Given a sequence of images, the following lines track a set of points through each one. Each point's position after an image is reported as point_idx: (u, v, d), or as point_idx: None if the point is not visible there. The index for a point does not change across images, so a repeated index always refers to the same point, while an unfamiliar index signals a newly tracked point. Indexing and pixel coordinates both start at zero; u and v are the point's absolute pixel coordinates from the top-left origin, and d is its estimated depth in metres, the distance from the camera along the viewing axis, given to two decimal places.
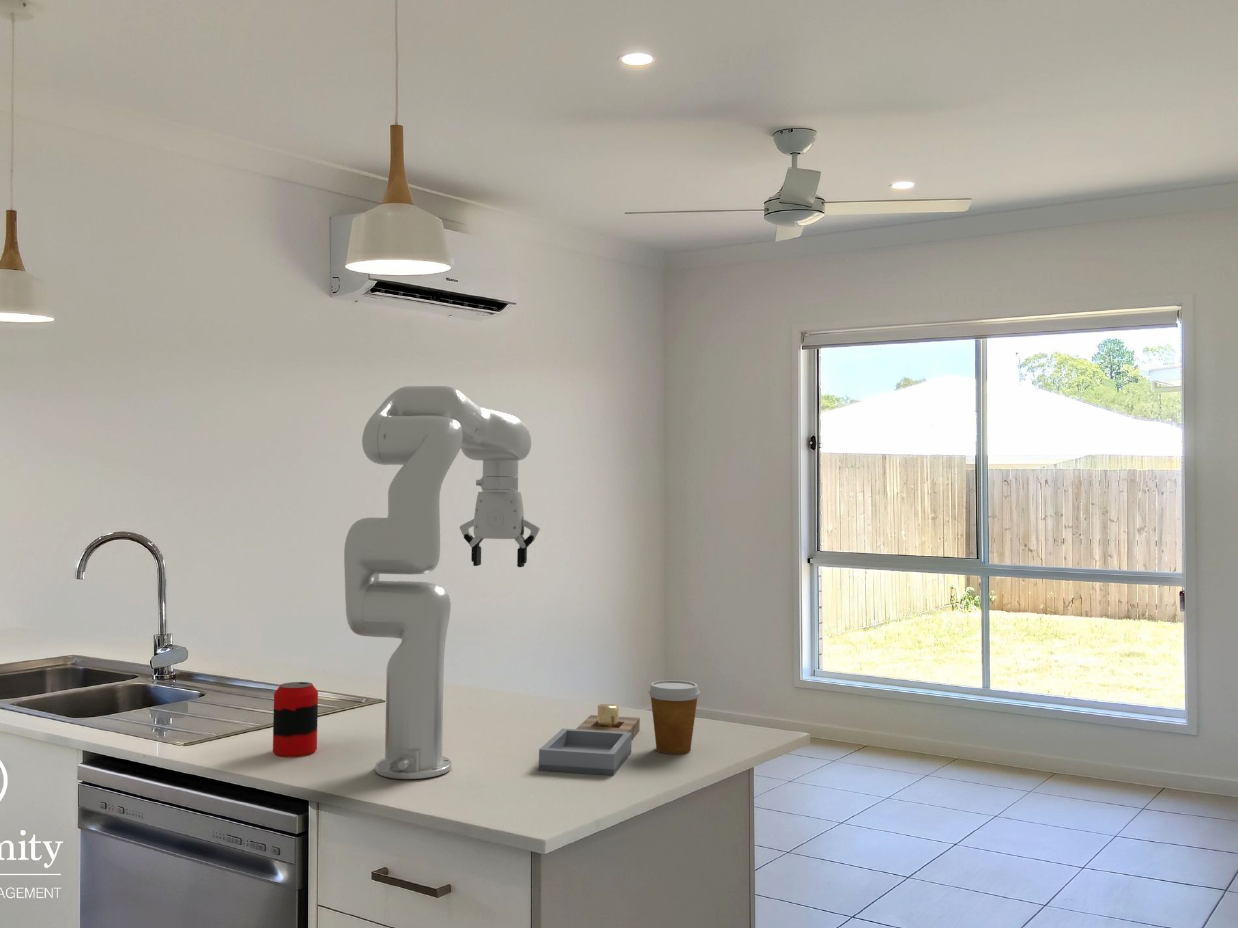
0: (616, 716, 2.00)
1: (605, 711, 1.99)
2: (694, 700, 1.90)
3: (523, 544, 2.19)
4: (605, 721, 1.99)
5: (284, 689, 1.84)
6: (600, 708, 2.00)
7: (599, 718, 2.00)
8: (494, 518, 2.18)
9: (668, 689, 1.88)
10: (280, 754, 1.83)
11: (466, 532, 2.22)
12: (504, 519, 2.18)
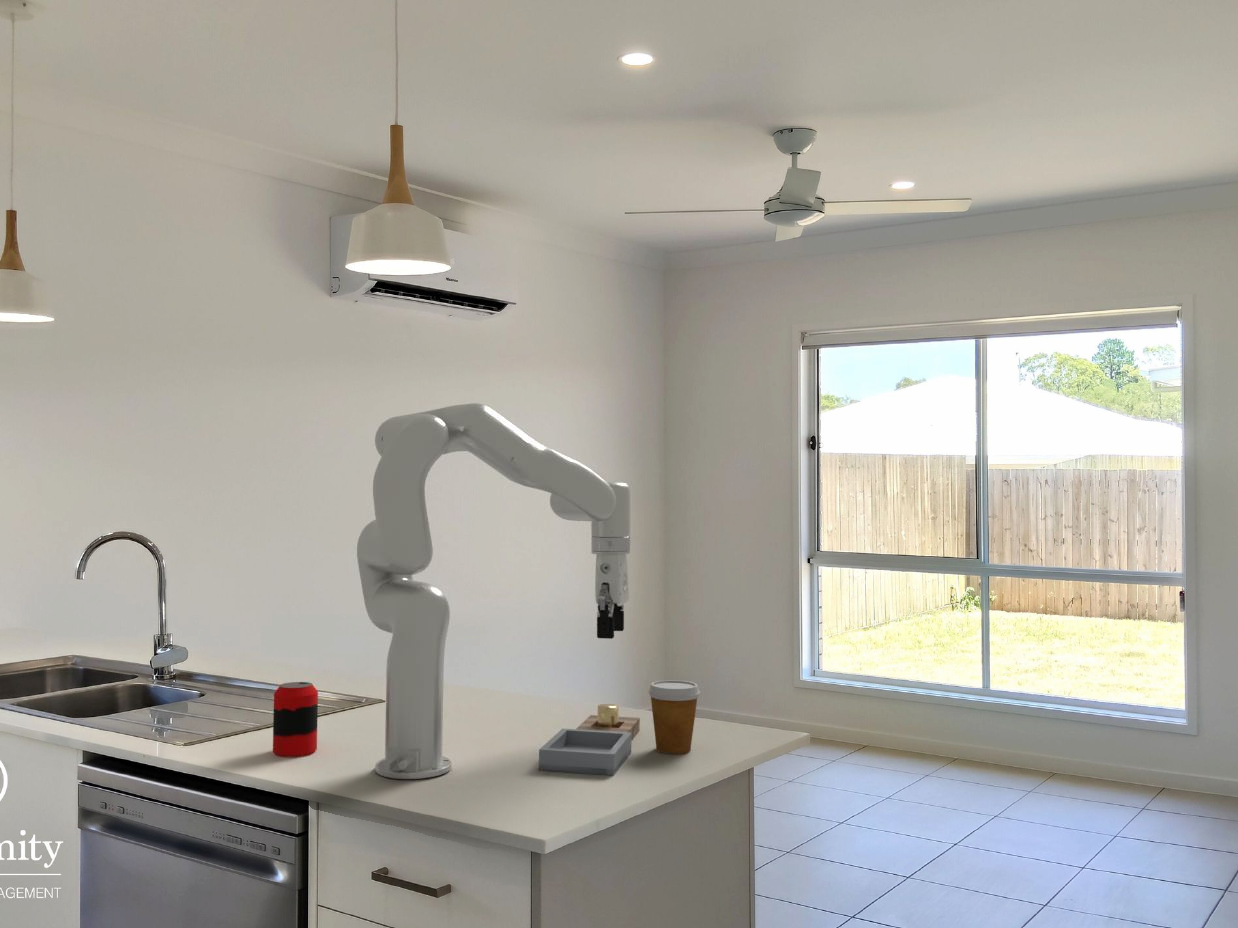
0: (616, 716, 2.00)
1: (605, 711, 1.99)
2: (694, 700, 1.90)
3: None
4: (605, 721, 1.99)
5: (284, 689, 1.84)
6: (600, 708, 2.00)
7: (599, 718, 2.00)
8: (625, 582, 2.01)
9: (668, 689, 1.88)
10: (280, 754, 1.83)
11: (605, 602, 1.95)
12: (626, 582, 2.03)
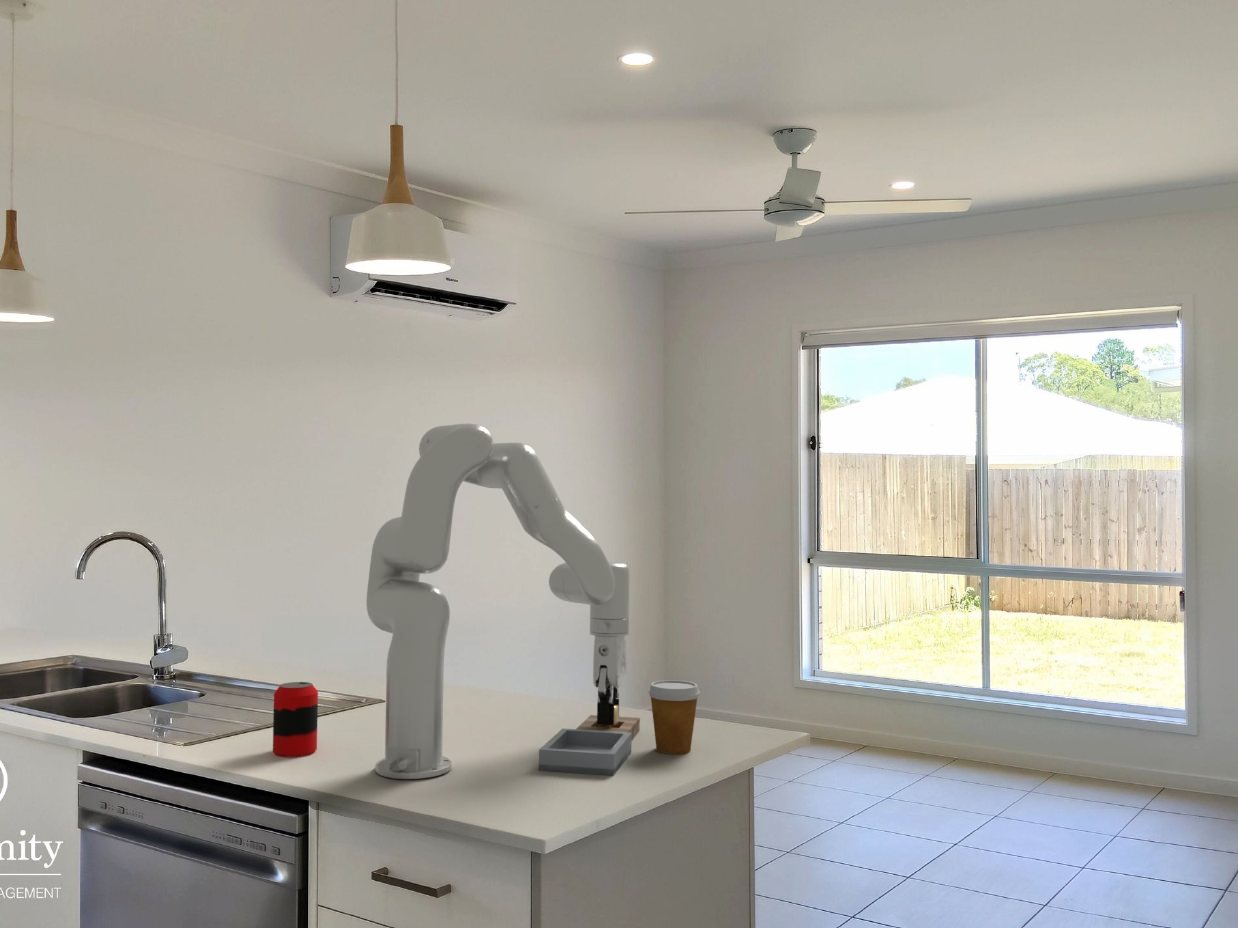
0: (616, 716, 2.00)
1: None
2: (694, 700, 1.90)
3: (617, 694, 2.04)
4: None
5: (284, 689, 1.84)
6: None
7: None
8: (623, 663, 2.01)
9: (668, 689, 1.88)
10: (280, 754, 1.83)
11: None
12: (624, 662, 2.03)
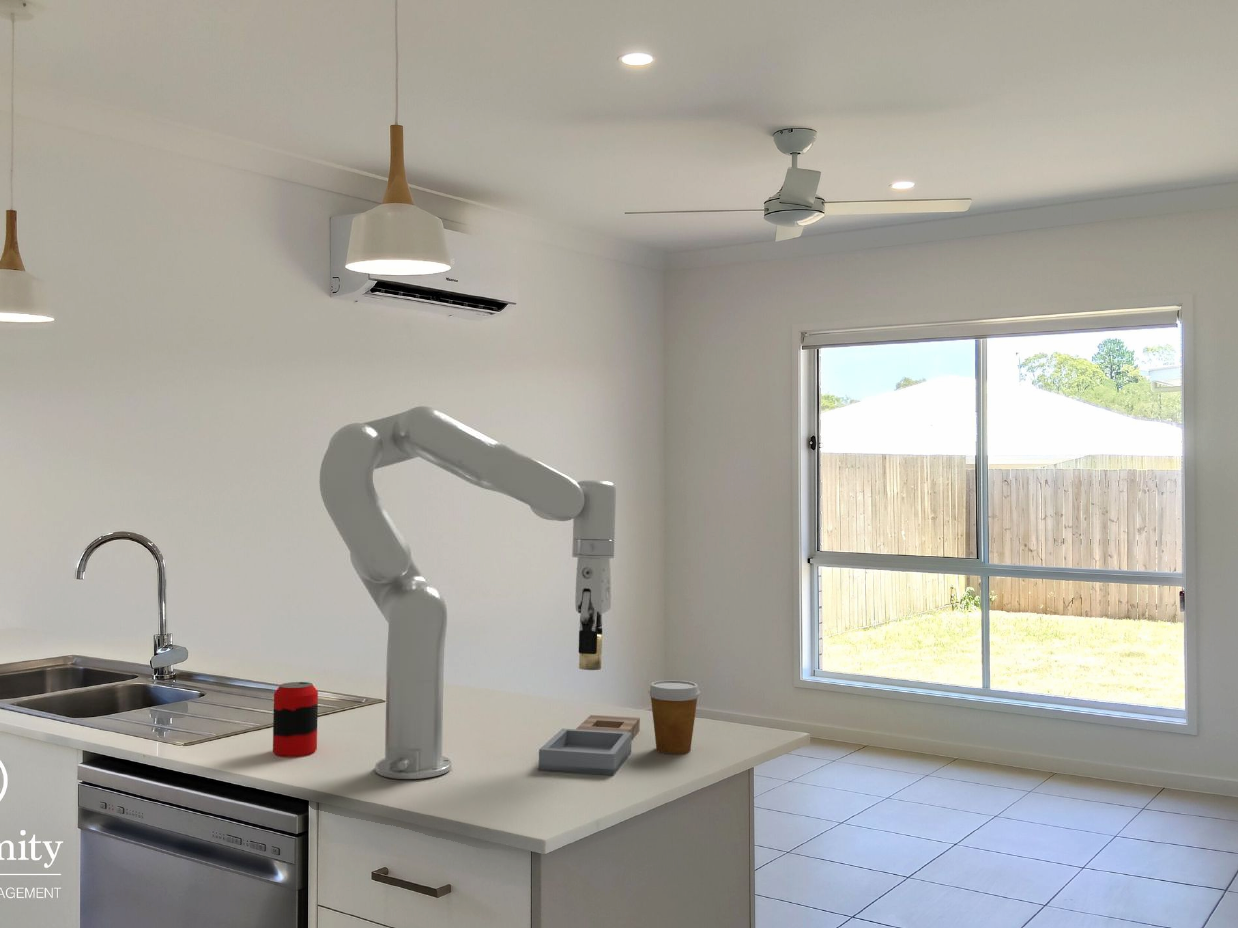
0: (600, 645, 1.86)
1: None
2: (694, 700, 1.90)
3: (600, 623, 1.90)
4: None
5: (284, 689, 1.84)
6: None
7: None
8: (607, 589, 1.86)
9: (668, 689, 1.88)
10: (280, 754, 1.83)
11: None
12: (609, 588, 1.88)
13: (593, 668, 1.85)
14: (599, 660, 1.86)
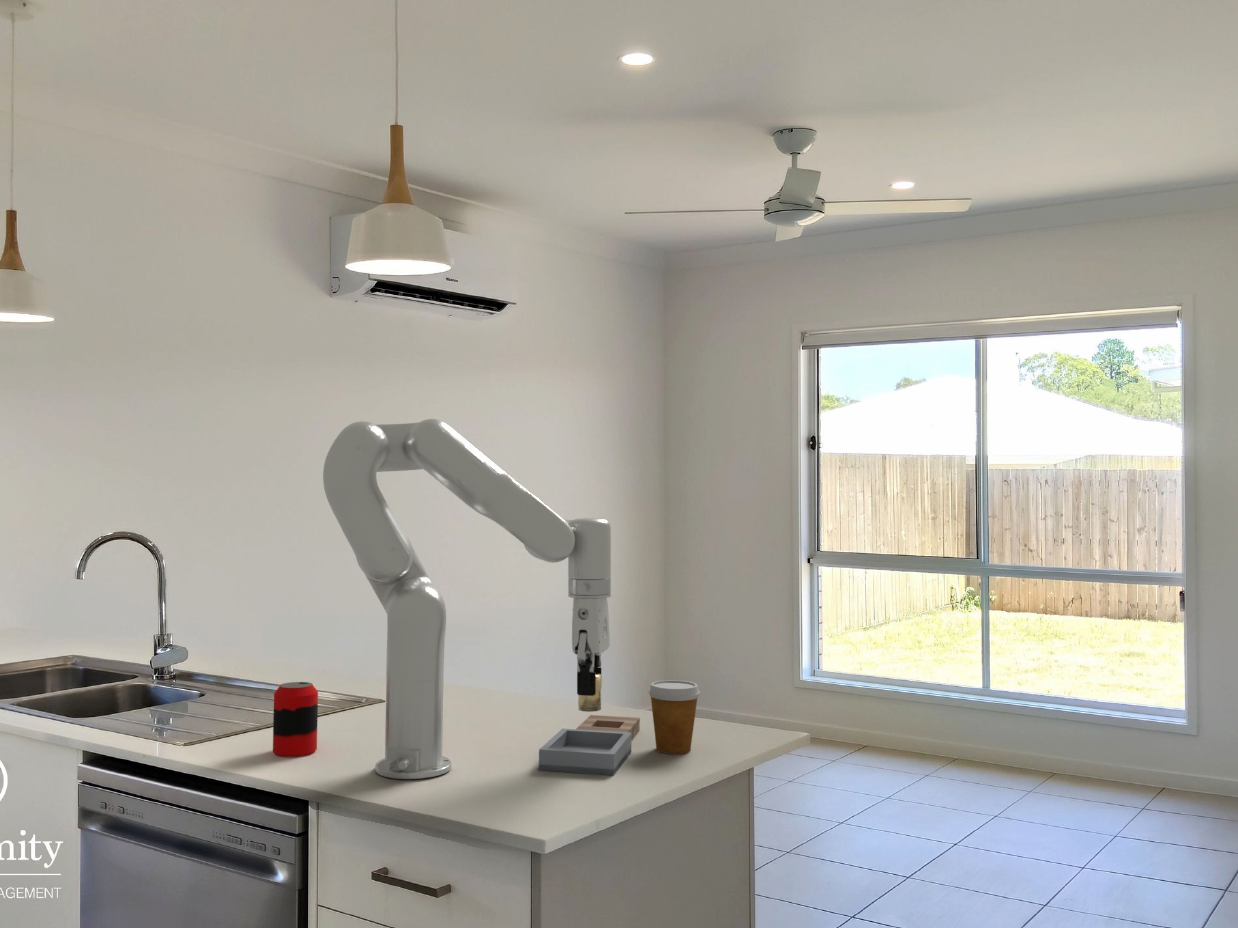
0: (599, 686, 1.83)
1: None
2: (694, 700, 1.90)
3: (600, 662, 1.87)
4: None
5: (284, 689, 1.84)
6: None
7: None
8: (605, 628, 1.83)
9: (668, 689, 1.88)
10: (280, 754, 1.83)
11: (586, 658, 1.79)
12: (607, 627, 1.85)
13: (592, 709, 1.82)
14: (598, 701, 1.83)
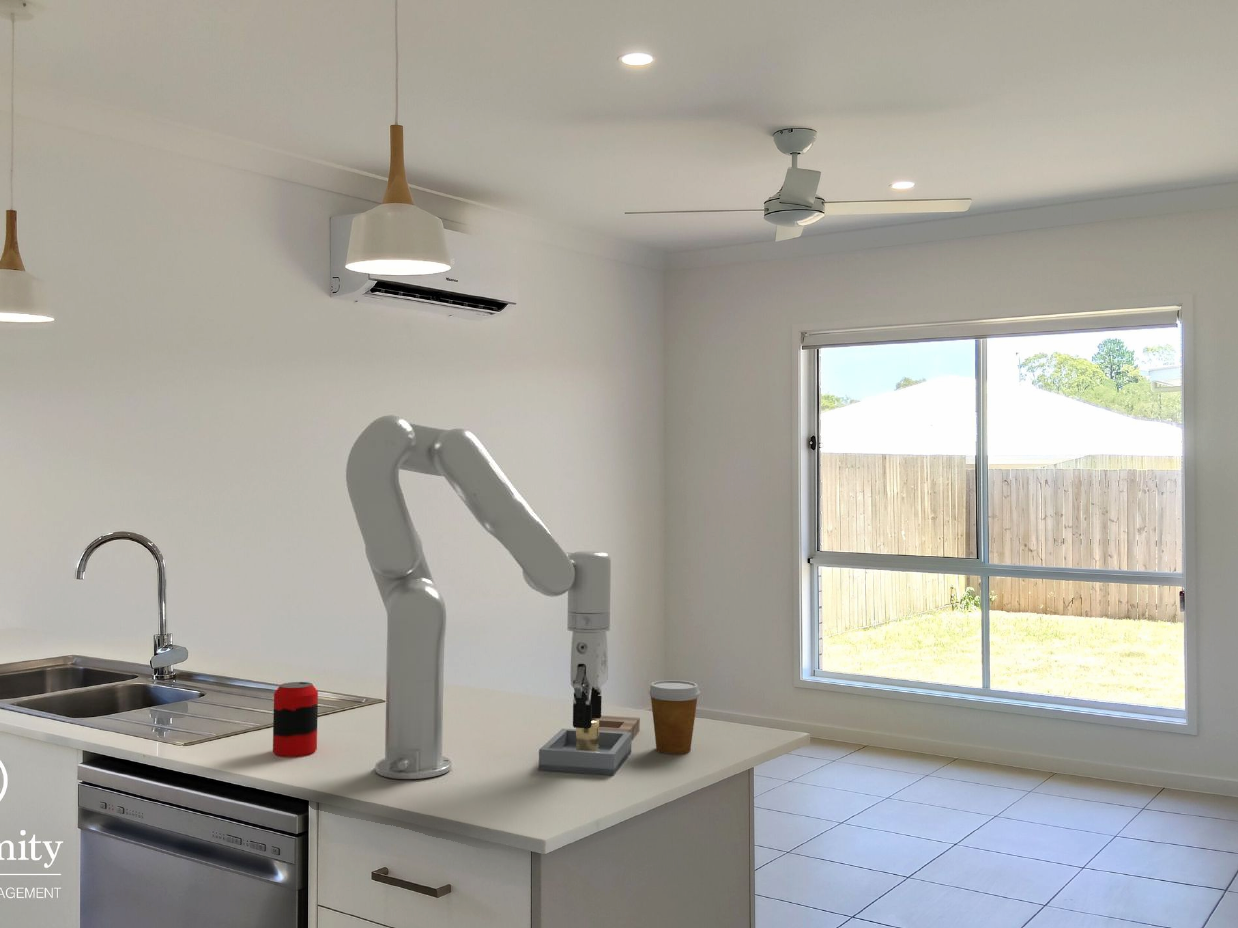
0: (597, 732, 1.83)
1: None
2: (694, 700, 1.90)
3: (600, 690, 1.88)
4: (585, 737, 1.82)
5: (284, 689, 1.84)
6: None
7: (578, 734, 1.83)
8: (603, 662, 1.83)
9: (668, 689, 1.88)
10: (280, 754, 1.83)
11: (582, 689, 1.77)
12: (605, 661, 1.85)
13: None
14: (596, 747, 1.83)
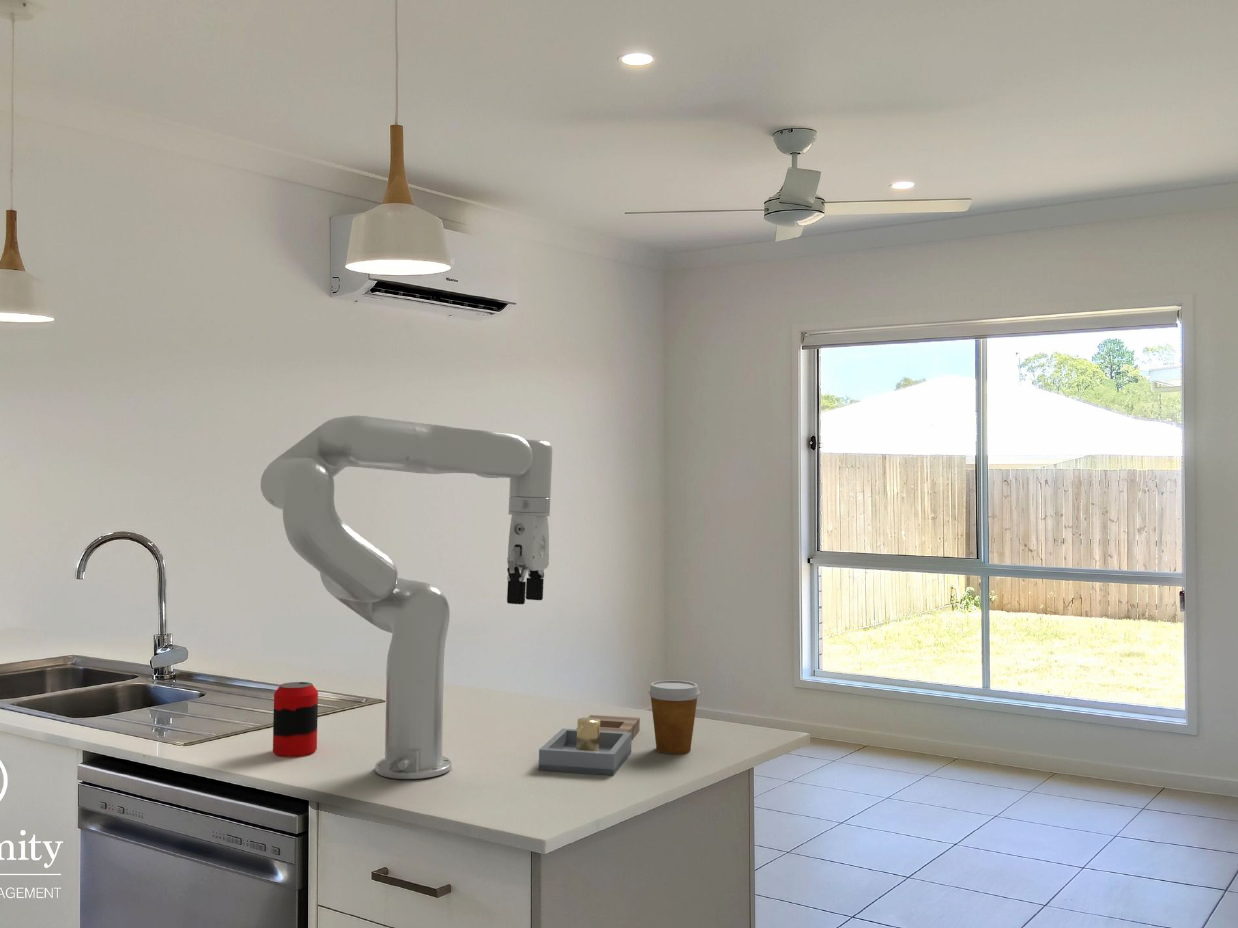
0: (598, 732, 1.83)
1: (586, 725, 1.82)
2: (694, 700, 1.90)
3: (542, 574, 1.95)
4: (586, 737, 1.82)
5: (284, 689, 1.84)
6: (580, 722, 1.82)
7: (579, 733, 1.82)
8: (542, 546, 1.89)
9: (668, 689, 1.88)
10: (280, 754, 1.83)
11: (516, 565, 1.83)
12: (545, 547, 1.91)
13: None
14: (597, 747, 1.83)
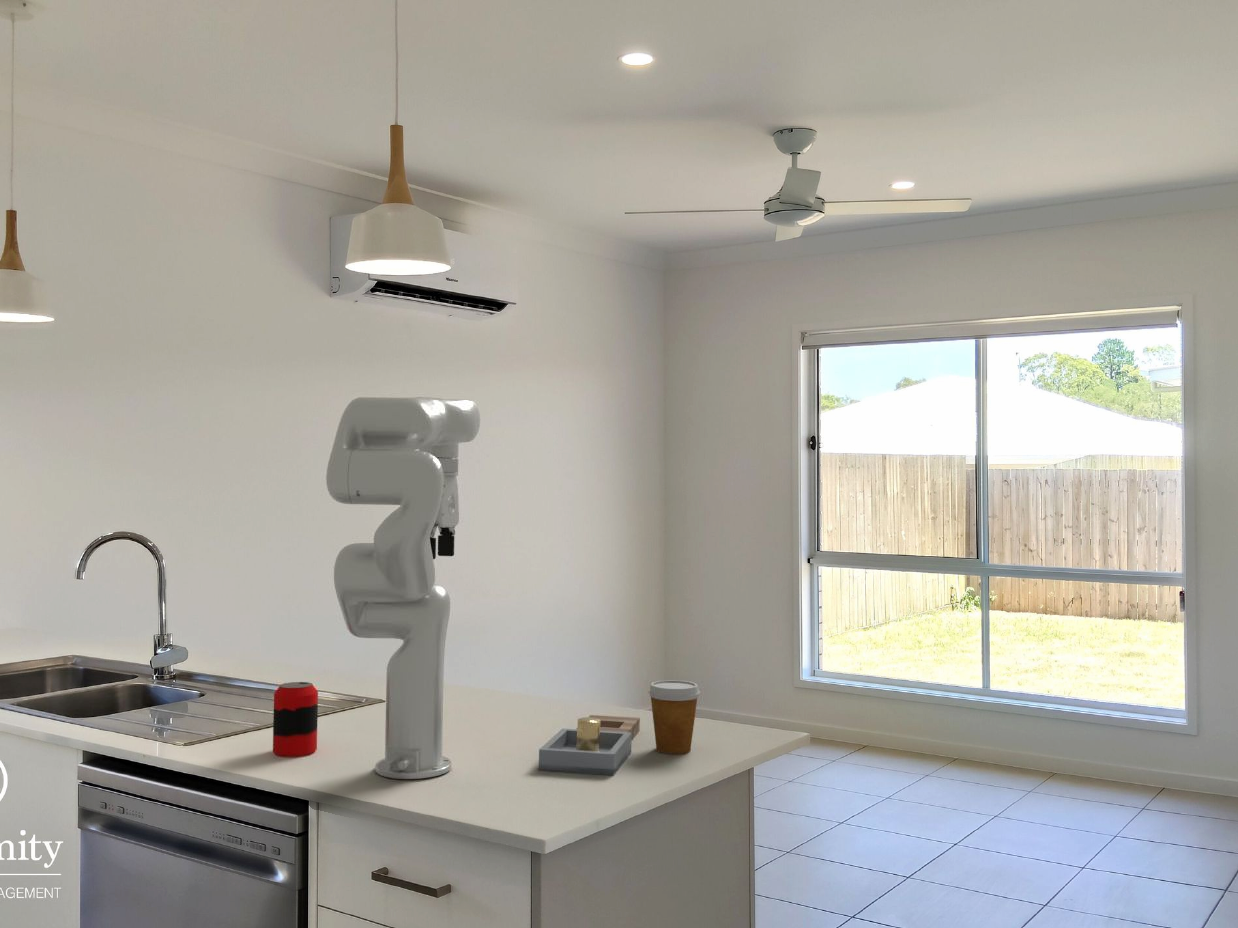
0: (598, 732, 1.83)
1: (588, 726, 1.82)
2: (694, 700, 1.90)
3: (453, 531, 2.05)
4: (587, 737, 1.82)
5: (284, 689, 1.84)
6: (582, 723, 1.82)
7: (580, 734, 1.82)
8: (451, 504, 1.99)
9: (668, 689, 1.88)
10: (280, 754, 1.83)
11: None
12: (455, 505, 2.01)
13: None
14: (597, 747, 1.83)
